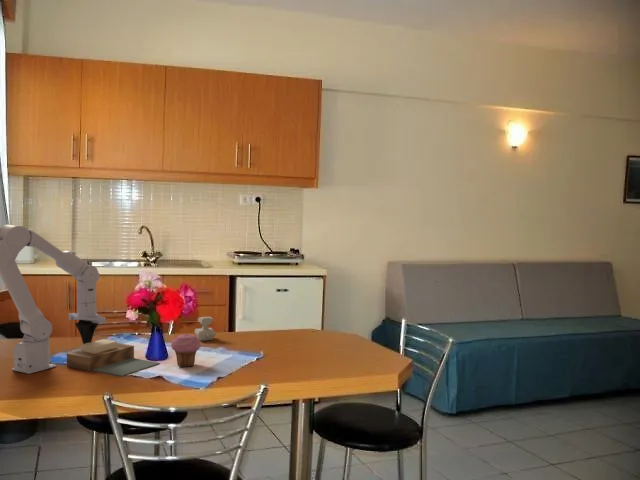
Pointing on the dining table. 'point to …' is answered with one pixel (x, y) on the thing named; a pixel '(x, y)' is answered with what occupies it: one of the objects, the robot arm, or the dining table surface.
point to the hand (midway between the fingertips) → (87, 343)
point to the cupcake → (185, 349)
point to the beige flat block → (98, 346)
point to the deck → (99, 357)
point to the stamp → (205, 329)
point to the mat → (126, 366)
